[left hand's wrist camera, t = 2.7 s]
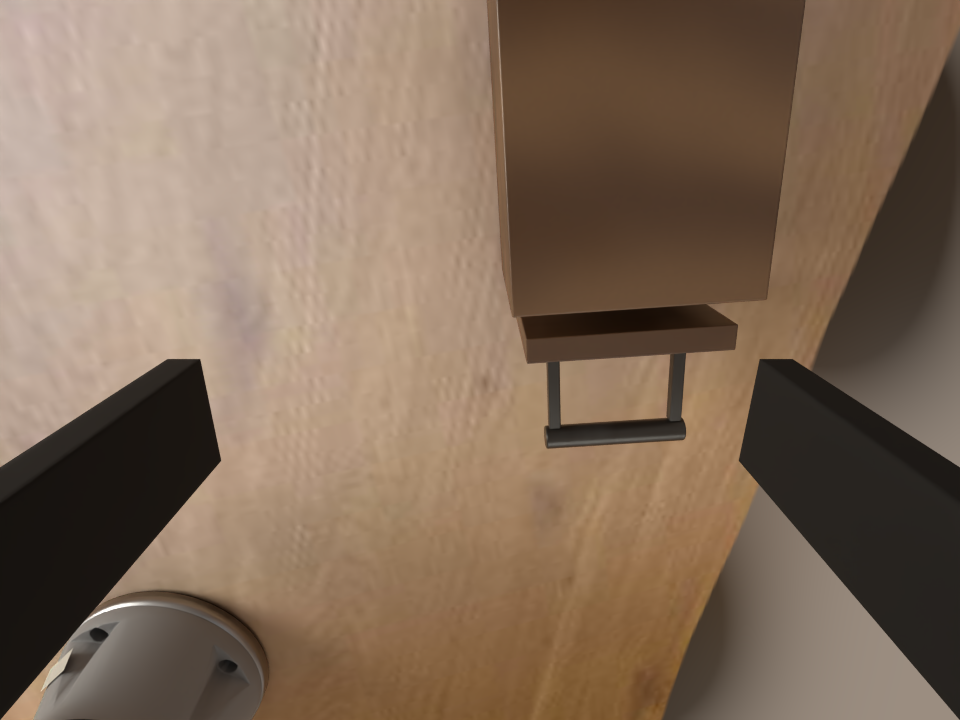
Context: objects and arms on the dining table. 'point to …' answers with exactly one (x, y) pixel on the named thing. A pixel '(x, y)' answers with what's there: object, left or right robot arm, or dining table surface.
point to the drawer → (622, 338)
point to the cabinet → (639, 149)
